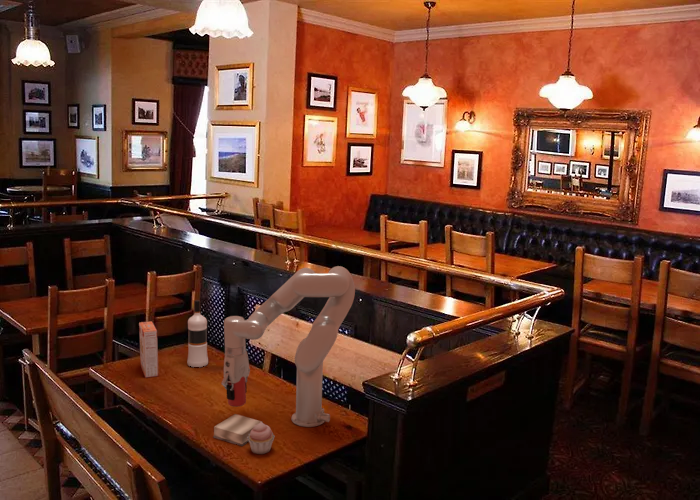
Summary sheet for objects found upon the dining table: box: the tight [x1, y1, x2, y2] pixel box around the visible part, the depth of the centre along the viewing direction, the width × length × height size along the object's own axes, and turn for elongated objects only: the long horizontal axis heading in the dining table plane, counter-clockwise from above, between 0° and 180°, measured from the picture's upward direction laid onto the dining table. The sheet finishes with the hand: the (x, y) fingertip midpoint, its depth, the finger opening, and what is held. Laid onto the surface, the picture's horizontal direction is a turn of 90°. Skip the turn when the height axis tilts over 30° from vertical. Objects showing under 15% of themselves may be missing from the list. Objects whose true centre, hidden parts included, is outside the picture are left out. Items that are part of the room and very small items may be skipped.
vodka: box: [186, 299, 209, 368], centre depth 294 cm, size 9×9×30 cm
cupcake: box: [247, 421, 275, 455], centre depth 220 cm, size 9×9×10 cm
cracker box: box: [138, 321, 159, 379], centre depth 285 cm, size 14×6×21 cm, turn 25°
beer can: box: [227, 376, 247, 408], centre depth 244 cm, size 7×7×12 cm
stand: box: [212, 413, 263, 447], centre depth 231 cm, size 12×12×4 cm
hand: (236, 395), depth 244 cm, fingers closed on beer can, 6 cm apart
